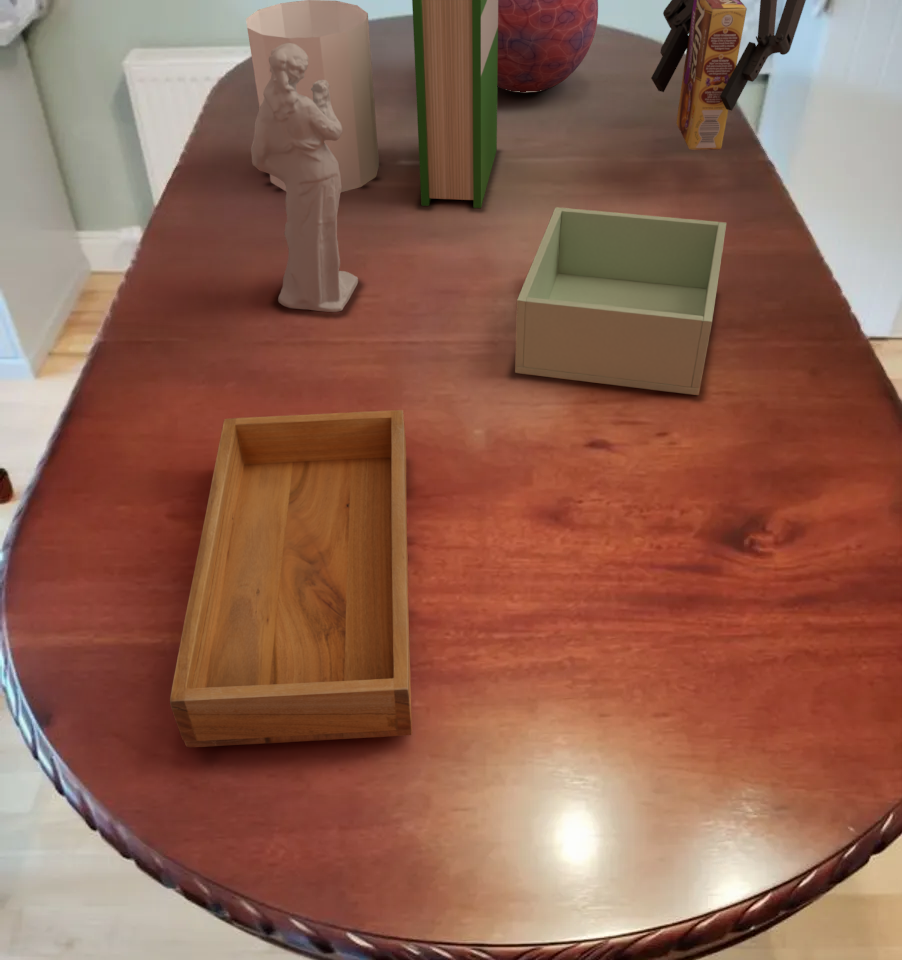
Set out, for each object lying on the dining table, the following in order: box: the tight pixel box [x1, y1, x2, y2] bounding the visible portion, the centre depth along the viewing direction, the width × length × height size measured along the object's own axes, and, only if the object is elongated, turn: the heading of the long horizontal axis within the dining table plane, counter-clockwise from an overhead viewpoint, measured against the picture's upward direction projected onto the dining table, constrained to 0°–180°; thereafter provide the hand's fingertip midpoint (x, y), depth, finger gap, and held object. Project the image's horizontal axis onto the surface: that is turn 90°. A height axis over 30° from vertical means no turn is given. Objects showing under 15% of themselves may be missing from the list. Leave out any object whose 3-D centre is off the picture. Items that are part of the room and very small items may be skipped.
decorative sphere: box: [497, 0, 599, 94], centre depth 143 cm, size 20×20×20 cm
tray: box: [169, 409, 413, 748], centre depth 75 cm, size 31×15×6 cm, turn 3°
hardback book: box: [411, 0, 498, 209], centre depth 120 cm, size 18×7×24 cm, turn 172°
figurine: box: [250, 43, 359, 313], centre depth 100 cm, size 10×10×25 cm
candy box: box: [675, 0, 748, 151], centre depth 117 cm, size 9×4×15 cm, turn 2°
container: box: [245, 0, 380, 194], centre depth 124 cm, size 14×14×18 cm
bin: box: [514, 206, 727, 396], centre depth 99 cm, size 18×20×8 cm
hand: (691, 94), depth 117 cm, fingers closed on candy box, 9 cm apart
